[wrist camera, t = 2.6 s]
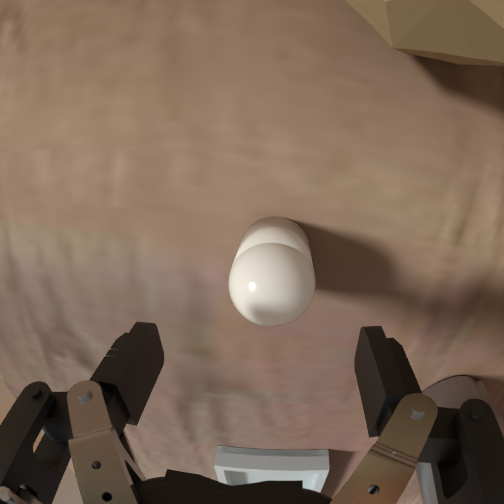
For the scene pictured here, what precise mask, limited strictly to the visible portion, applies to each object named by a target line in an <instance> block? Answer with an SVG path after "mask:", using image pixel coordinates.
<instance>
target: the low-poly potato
mask: <svg viewBox="0 0 504 504" xmlns="http://www.w3.org/2000/svg"><path fill="white" fill-rule="evenodd" d="M347 3H348V4H349V5H350V6H351V7H352V8H353V9H355V10H356V11H357V12H358V13H359V14H360V15H361V16H362V17H363V18H364V19H365V20H366V21H367V22H368V23H369V24H370V25H371V26H372V27H373V28H374V29H375V30H376V31H377V32H378V33H379V34H380V35H381V36H382V37H383V38H384V39H385V40H386V42H387V43H388V44H389V45H390V46H391V47H392V48H394V49H396V50H399V51H402V52H404V53H407V54H411V55H417V56H422V57H428V58H433V59H437V60H442V61H446V62H451V63H455V64H459V65H490V66H504V0H347Z"/></svg>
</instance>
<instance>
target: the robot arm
mask: <svg viewBox="0 0 504 504" xmlns="http://www.w3.org/2000/svg"><path fill="white" fill-rule="evenodd" d="M163 364H164V351H163V348H162V344H161V340H160V336H159V333H158V329H157V326H156V324H155V323H146V322H136V323H135V325H134V326H133V328H132V329H131V331H130V332H129V333H124V334H123V335H122V336H120V337H119V338H118V339H116V341H115V342H114V344H113V345H112V346H111V349H110V350H109V351H108V352H107V354H106V357H104V358H103V360H102V362H101V363H100V365H99V366H98V368H97V369H96V371H95V372H94V374H93V375H92V377H91V378H90V380H89V381H88V380H87V381H81V382H78V383H76V384H75V385H73V386H72V387H71V388H70V390H69V391H68V392H52V391H51V389H50V388H49V386H48V385H47V384H46V383H44V382H39V381H38V382H33V383H31V384H29V385H28V386H26V387H25V388H24V390H23V391H22V392H21V394H20V395H19V397H18V398H17V400H16V401H15V403H14V405H13V406H12V408H11V409H10V411H9V412H8V414H7V415H6V417H5V419H4V420H3V422H2V423H1V425H0V504H52V502H53V499H54V497H55V494H56V492H57V489H58V487H59V484H60V482H61V479H62V477H63V474H64V472H65V470H66V467H67V465H68V463H69V460H70V458H72V463H73V467H74V471H75V475H76V479H77V483H78V487H79V490H80V494H81V497H82V500H83V504H396V503H397V501H398V499H399V498H400V496H401V494H402V493H403V491H404V489H405V487H406V485H407V484H408V482H409V480H410V478H411V476H412V474H413V473H414V471H415V469H416V473H417V478H418V482H419V487H420V492H421V496H422V501H423V504H504V422H503V420H502V418H501V416H500V414H499V412H498V410H497V408H496V406H495V404H494V402H493V400H492V398H491V396H490V395H489V393H488V391H487V389H486V387H485V385H484V384H483V382H482V380H480V381H474V380H473V379H472V378H471V377H468V376H456V377H451V378H448V379H445V380H443V381H441V382H439V383H436V384H435V385H433V386H431V387H429V388H428V389H426V390H425V391H424V392H421V389H420V387H419V385H418V382H417V380H416V377H415V375H414V372H413V370H412V368H411V365H409V364H410V363H409V361H408V358H407V357H406V354H405V352H404V349H403V347H402V345H400V344H399V343H398V342H397V341H396V340H395V339H394V338H386V336H385V334H384V331H383V329H382V327H381V326H368V327H362V328H361V330H360V335H359V340H358V345H357V350H356V354H355V373H356V378H357V382H358V386H359V391H360V395H361V400H362V404H363V409H364V414H365V419H366V424H367V429H368V434H369V437H376V436H379V438H378V440H377V441H376V443H375V444H374V445H373V446H372V447H371V448H370V450H369V451H368V453H367V454H366V456H365V457H364V459H363V460H362V461H361V463H360V464H359V466H358V467H357V469H356V470H355V471H354V473H353V474H352V475H351V477H350V478H349V479H348V481H347V482H346V483H345V485H344V486H343V487H342V489H341V490H340V491H339V492H338V494H337V495H336V496H335V497H334V499H331V498H330V497H328V496H326V495H324V494H322V493H319V492H317V491H313V490H310V489H305V488H303V480H297V481H273V480H268V481H262V482H256V483H249V484H243V485H234V486H232V485H227V484H224V483H221V482H218V481H215V480H212V479H210V478H207V477H204V476H201V475H199V474H192V473H186V472H180V471H174V470H169V469H167V472H166V475H165V477H157V478H152V479H147V480H146V478H145V476H144V475H143V473H142V471H141V469H140V467H139V465H138V463H137V460H136V458H135V456H134V453H133V451H132V448H131V446H130V443H129V441H128V438H127V435H126V433H125V431H124V428H125V426H126V423H127V424H131V425H136V426H137V424H138V422H139V419H140V417H141V415H142V412H143V410H144V408H145V405H146V403H147V401H148V398H149V396H150V394H151V392H152V389H153V387H154V385H155V383H156V380H157V378H158V376H159V374H160V371H161V369H162V367H163ZM41 429H43V431H44V432H45V433H44V435H43V437H42V439H41V441H40V443H39V445H38V447H37V449H36V451H35V453H33V444H34V442H35V440H36V438H37V436H38V435H39V433H40V431H41Z"/></svg>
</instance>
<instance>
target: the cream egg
mask: <svg viewBox="0 0 504 504" xmlns="http://www.w3.org/2000/svg"><path fill="white" fill-rule="evenodd" d="M229 292H230V296H231V299H232V301H233V303H234V305H235V307H236V308H237V310H238V311H239V312H240V313H241V314H242V315H243V316H244V317H245V318H247V319H248V320H250V321H251V322H253V323H256V324H258V325H262V326H268V327H276V326H282V325H286V324H288V323H291V322H293V321H294V320H296V319H297V318H299V317H300V316H301V315H302V314H303V313H304V312H305V311H306V310H307V308H308V307H309V305H310V303H311V301H312V299H313V296H314V293H315V273H314V268H313V262H312V257H311V251H310V246H309V241H308V238H307V236H306V234H305V232H304V231H303V229H302V228H301V227H300V226H299V225H298V224H296V223H295V222H293V221H291V220H289V219H287V218H283V217H267V218H263V219H261V220H259V221H257V222H255V223H254V224H253V225H251V226H250V227H249V229H248V230H247V231H246V233H245V235H244V237H243V239H242V242H241V244H240V247H239V250H238V252H237V255H236V257H235V260H234V263H233V265H232V268H231V271H230V275H229Z"/></svg>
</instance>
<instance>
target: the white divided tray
mask: <svg viewBox="0 0 504 504" xmlns="http://www.w3.org/2000/svg"><path fill="white" fill-rule="evenodd" d="M214 468H215V471H216V474H217V477H218V480H219V482H221V483H224V484H227V485H232V486H234V485H243V484H249V483H256V482H262V481H268V480H273V481H297V480H303V488H305V489H310V490H313V491H317V492H319V493H320V492H321V490H322V487H323V485H324V482H325V480H326V477H327V475H328V472H329V452H328V449H322V450H271V449H252V448H238V447H227V446H218V448H217V453H216V457H215V462H214Z"/></svg>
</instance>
